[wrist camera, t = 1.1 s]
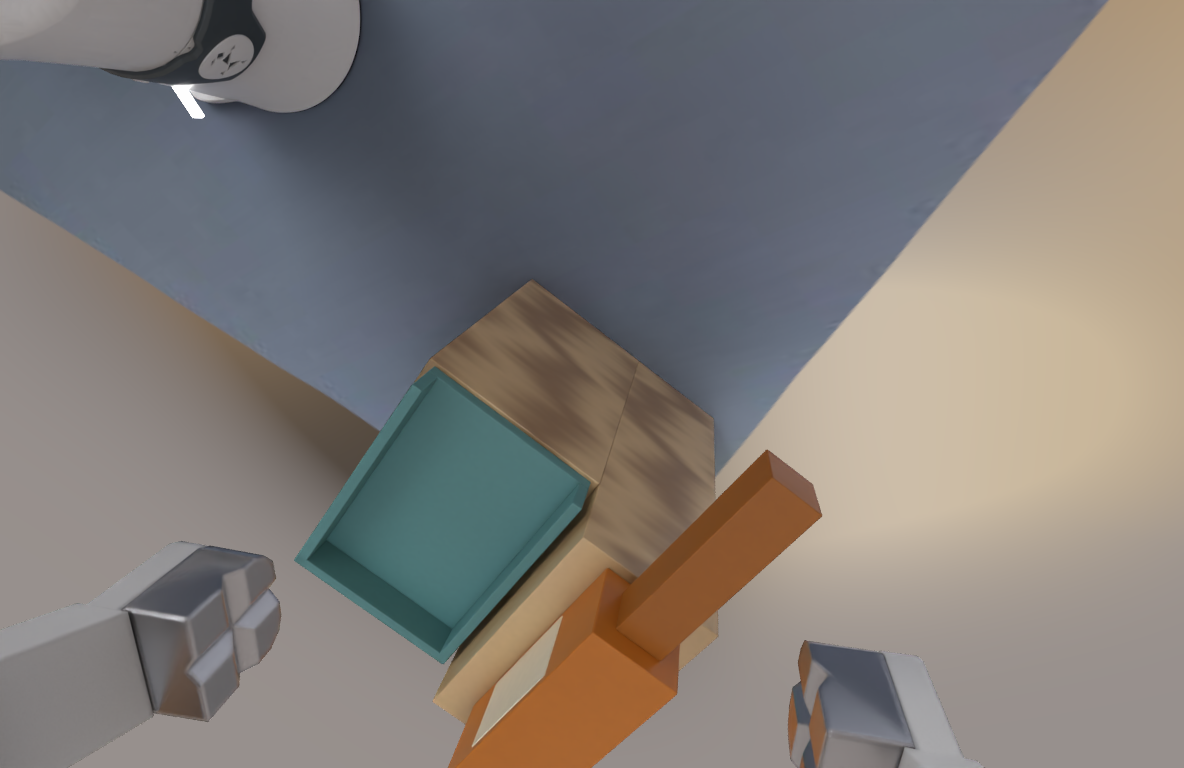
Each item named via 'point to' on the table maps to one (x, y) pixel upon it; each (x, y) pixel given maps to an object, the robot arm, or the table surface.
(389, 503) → the tray
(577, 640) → the orange block with handle
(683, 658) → the riser
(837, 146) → the table surface
